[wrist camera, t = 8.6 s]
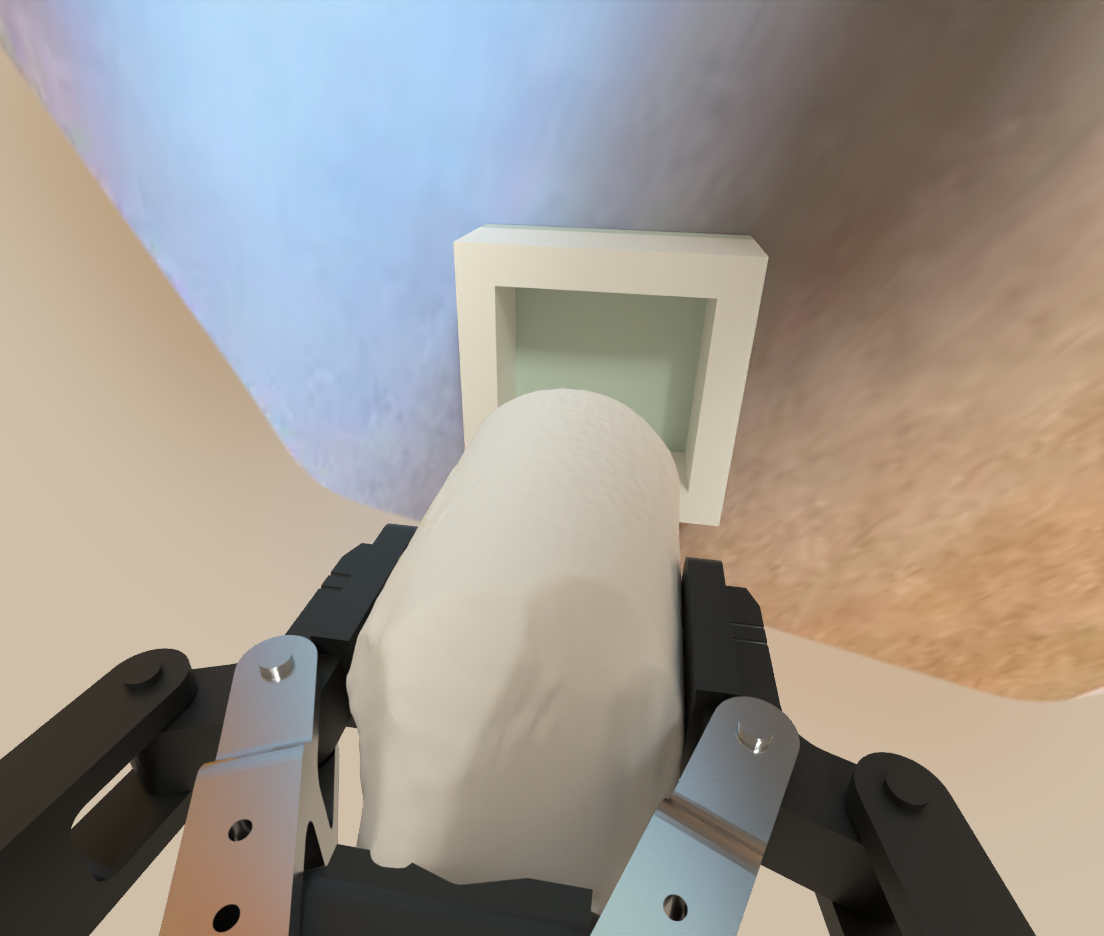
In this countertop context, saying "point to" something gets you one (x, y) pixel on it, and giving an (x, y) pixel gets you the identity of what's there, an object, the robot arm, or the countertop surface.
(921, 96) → the countertop surface
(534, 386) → the socket
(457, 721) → the roll
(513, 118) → the countertop surface
